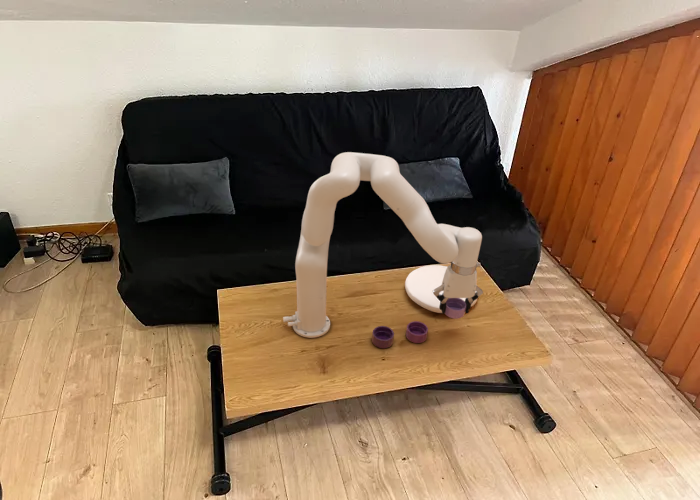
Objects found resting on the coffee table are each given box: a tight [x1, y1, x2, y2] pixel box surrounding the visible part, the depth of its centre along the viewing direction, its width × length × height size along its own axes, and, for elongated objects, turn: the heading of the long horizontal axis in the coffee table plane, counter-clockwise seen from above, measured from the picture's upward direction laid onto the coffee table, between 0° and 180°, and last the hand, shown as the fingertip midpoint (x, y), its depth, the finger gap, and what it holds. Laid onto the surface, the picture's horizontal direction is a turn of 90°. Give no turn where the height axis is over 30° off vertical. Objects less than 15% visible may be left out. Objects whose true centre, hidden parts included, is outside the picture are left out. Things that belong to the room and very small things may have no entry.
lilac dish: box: [444, 298, 466, 320], centre depth 160 cm, size 7×7×4 cm
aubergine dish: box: [371, 325, 395, 349], centre depth 160 cm, size 7×7×4 cm
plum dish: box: [405, 320, 429, 344], centre depth 162 cm, size 7×7×4 cm
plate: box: [404, 264, 479, 314], centre depth 182 cm, size 28×6×27 cm
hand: (454, 310), depth 161 cm, fingers closed on lilac dish, 7 cm apart
